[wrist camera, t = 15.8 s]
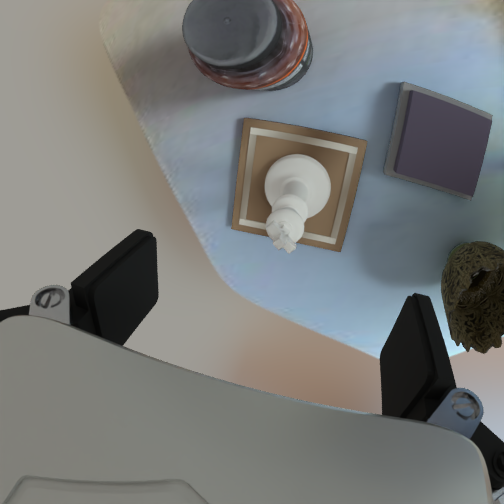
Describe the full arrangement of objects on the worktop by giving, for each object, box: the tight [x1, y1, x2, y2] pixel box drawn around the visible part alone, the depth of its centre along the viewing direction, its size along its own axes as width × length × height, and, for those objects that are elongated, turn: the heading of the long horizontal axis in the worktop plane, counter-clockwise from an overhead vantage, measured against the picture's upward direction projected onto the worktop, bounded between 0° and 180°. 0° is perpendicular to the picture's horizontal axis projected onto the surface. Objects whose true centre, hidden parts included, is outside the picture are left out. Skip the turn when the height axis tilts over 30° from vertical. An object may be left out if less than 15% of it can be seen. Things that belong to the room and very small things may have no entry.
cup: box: [441, 241, 504, 354], centre depth 20 cm, size 8×7×8 cm
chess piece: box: [265, 154, 331, 253], centre depth 19 cm, size 5×5×10 cm
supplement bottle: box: [182, 0, 313, 90], centre depth 15 cm, size 6×6×11 cm
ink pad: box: [383, 82, 492, 200], centre depth 19 cm, size 8×7×2 cm
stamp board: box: [231, 118, 367, 252], centre depth 24 cm, size 9×9×1 cm
